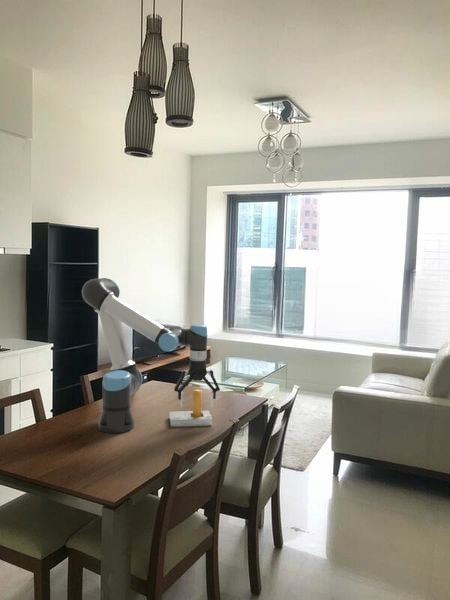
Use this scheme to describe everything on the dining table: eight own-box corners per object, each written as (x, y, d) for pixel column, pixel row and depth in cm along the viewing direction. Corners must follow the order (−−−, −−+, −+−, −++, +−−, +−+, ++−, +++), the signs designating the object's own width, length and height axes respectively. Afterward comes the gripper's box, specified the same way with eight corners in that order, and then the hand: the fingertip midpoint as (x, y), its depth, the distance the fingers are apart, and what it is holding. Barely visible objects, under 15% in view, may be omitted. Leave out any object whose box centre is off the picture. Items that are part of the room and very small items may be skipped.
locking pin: (192, 423, 212) (193, 392, 211) (192, 420, 215) (192, 389, 215) (201, 422, 212) (202, 391, 211) (200, 419, 216) (201, 389, 215)
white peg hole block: (170, 426, 206) (170, 419, 206) (169, 417, 218) (169, 411, 218) (212, 425, 209) (212, 418, 209) (208, 416, 221) (208, 410, 221)
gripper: (170, 361, 206) (169, 409, 208) (227, 361, 210) (225, 408, 212) (169, 357, 214) (168, 404, 215) (224, 357, 218) (222, 403, 219)
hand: (196, 406), depth 214 cm, fingers open, 13 cm apart
